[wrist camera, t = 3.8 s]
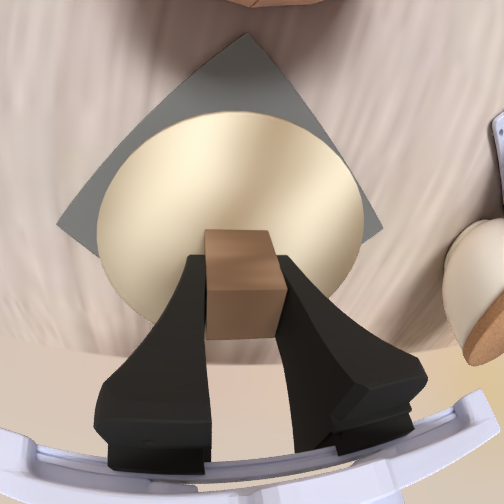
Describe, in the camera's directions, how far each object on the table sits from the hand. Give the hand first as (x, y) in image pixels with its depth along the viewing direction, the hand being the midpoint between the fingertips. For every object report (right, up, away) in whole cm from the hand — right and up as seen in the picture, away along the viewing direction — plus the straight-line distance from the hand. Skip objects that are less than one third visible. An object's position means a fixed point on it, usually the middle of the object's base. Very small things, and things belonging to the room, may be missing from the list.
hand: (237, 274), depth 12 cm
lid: (0, +1, +2) cm, 2 cm away
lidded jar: (+18, +1, +8) cm, 20 cm away
